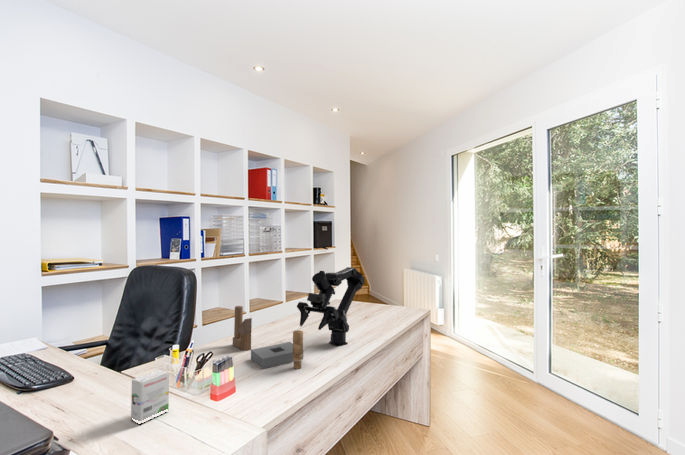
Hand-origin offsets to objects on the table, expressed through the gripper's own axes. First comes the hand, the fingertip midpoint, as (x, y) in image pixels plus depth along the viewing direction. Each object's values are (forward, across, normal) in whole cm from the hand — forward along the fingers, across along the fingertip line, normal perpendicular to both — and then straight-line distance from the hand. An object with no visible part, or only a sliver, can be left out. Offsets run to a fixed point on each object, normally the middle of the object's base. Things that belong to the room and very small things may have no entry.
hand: (309, 327), depth 143 cm
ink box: (+51, -16, -31) cm, 62 cm away
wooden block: (+12, -35, +8) cm, 38 cm away
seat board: (+14, -12, +6) cm, 19 cm away
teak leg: (+15, 0, +4) cm, 16 cm away
